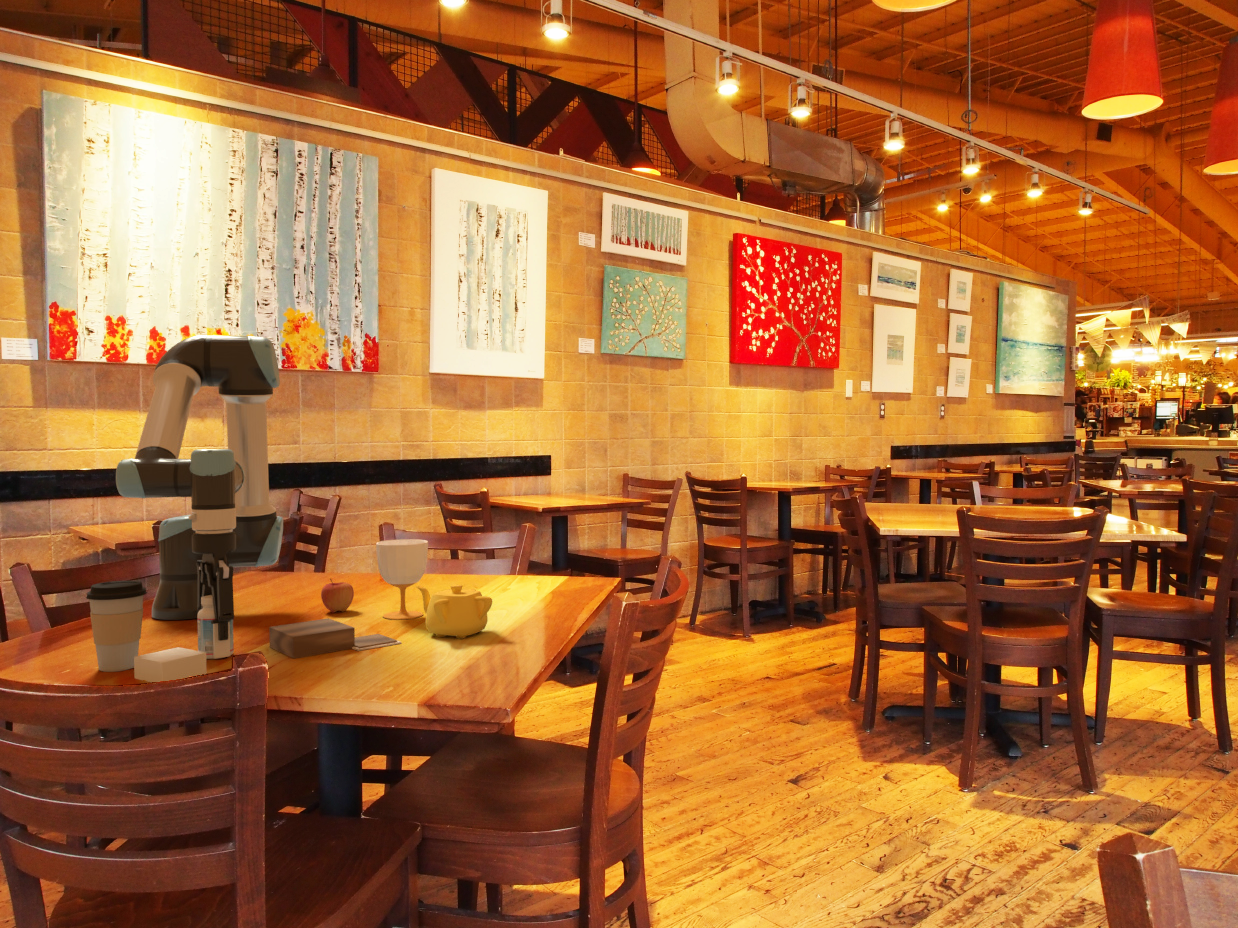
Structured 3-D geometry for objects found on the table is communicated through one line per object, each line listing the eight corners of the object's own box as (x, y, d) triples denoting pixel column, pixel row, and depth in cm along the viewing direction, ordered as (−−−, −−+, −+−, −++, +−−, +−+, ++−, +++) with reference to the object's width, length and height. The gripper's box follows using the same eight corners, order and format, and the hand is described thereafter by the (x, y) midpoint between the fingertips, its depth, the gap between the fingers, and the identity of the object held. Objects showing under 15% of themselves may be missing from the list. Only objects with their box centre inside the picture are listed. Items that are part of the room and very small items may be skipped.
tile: (337, 642, 175) (337, 639, 175) (380, 635, 181) (379, 632, 181) (357, 650, 168) (357, 647, 168) (401, 643, 174) (401, 640, 174)
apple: (358, 612, 205) (357, 578, 205) (326, 616, 201) (326, 581, 201) (348, 607, 212) (348, 574, 211) (317, 610, 207) (317, 577, 207)
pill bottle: (240, 653, 166) (239, 594, 166) (216, 660, 161) (215, 600, 160) (215, 650, 168) (214, 592, 168) (190, 658, 163) (189, 598, 162)
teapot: (426, 643, 174) (425, 592, 174) (416, 630, 186) (415, 582, 185) (493, 637, 179) (493, 587, 179) (479, 625, 191) (479, 578, 191)
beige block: (134, 679, 149) (134, 656, 149) (178, 669, 156) (178, 646, 156) (162, 686, 145) (161, 662, 145) (206, 675, 152) (206, 652, 152)
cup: (365, 618, 198) (365, 543, 198) (397, 609, 209) (396, 538, 208) (409, 622, 194) (408, 546, 193) (439, 612, 204) (438, 540, 204)
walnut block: (269, 647, 171) (269, 626, 171) (328, 637, 179) (328, 618, 179) (293, 658, 162) (293, 636, 162) (354, 647, 170) (354, 627, 170)
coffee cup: (104, 661, 160) (102, 580, 160) (157, 660, 161) (156, 579, 161) (76, 675, 151) (74, 588, 151) (133, 673, 152) (131, 588, 151)
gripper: (177, 528, 168) (179, 647, 169) (208, 536, 154) (210, 666, 155) (218, 526, 173) (220, 641, 174) (252, 533, 159) (254, 659, 160)
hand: (215, 653), depth 164 cm, fingers closed on pill bottle, 6 cm apart
